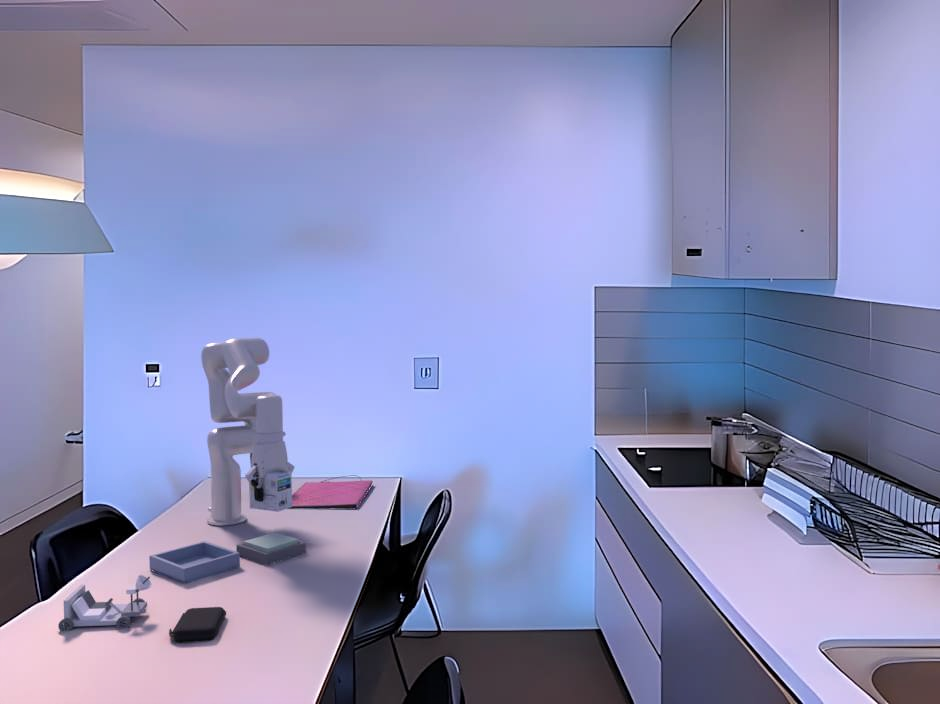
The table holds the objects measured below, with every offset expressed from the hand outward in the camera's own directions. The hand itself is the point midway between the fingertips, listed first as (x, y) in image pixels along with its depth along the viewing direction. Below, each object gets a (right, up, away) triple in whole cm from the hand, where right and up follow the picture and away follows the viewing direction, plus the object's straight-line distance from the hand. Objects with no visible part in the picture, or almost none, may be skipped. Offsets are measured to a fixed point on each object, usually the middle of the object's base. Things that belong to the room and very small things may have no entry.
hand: (270, 497), depth 226 cm
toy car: (-26, -20, -46) cm, 56 cm away
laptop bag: (+5, -13, +71) cm, 73 cm away
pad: (0, -14, +1) cm, 14 cm away
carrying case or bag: (-3, -20, -51) cm, 55 cm away
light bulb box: (0, -3, 0) cm, 3 cm away
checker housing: (0, -17, +1) cm, 17 cm away
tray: (-18, -17, -11) cm, 27 cm away
